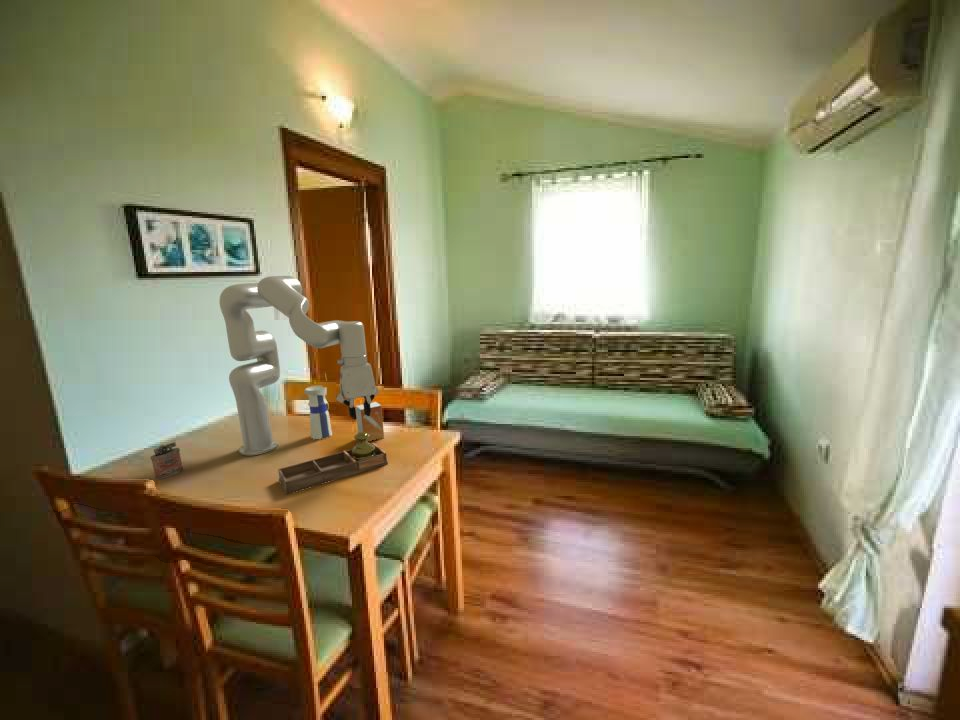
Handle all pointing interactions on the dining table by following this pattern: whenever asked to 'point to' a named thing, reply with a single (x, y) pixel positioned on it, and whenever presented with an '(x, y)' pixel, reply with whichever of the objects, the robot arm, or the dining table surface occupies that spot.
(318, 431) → the water bottle
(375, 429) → the small box
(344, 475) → the wooden compartment tray
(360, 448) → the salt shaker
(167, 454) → the lighter
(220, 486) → the dining table surface
